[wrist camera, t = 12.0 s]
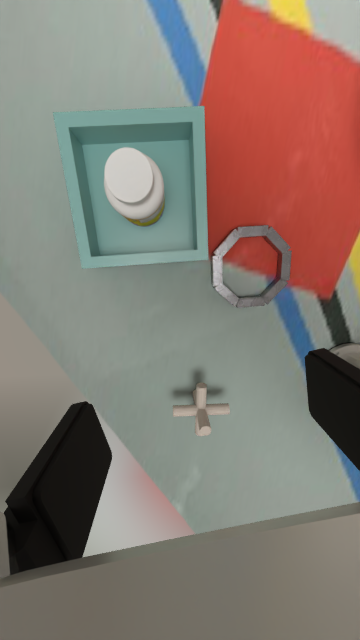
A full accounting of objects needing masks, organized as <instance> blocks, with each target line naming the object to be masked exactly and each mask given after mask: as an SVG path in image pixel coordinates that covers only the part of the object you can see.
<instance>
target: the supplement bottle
mask: <svg viewBox="0 0 360 640" xmlns="http://www.w3.org/2000/svg"><path fill="white" fill-rule="evenodd" d="M104 189H105V193H106V196H107V198H108V200H109V202H110V204H111V205H112V207H113V208H114V209H115V210H116V211H117V212H118V213H120V214H121V215H122V216H123V217H124V218H126V219H127V220H128V221H129V222H131V223H133V224H134V225H137V226H141V227H146V226H150V225H153V224H154V223H156V222H157V221H158V220H159V219H160V217H161V216H162V214H163V211H164V206H165V197H164V182H163V177H162V174H161V172H160V169H159V168H158V166H157V165H156V163H155V162H154V161H153V160H152V159H151V158H150V157H148V156H147V155H145V154H143V153H141V152H140V151H138V150H136V149H134V148H129V147H124V148H120V149H117V150H116V151H114V152H113V153H112V154H111V155H110V156H109V158H108V160H107V162H106V165H105V170H104Z"/></svg>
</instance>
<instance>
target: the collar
mask: <svg viewBox="0 0 360 640" xmlns="http://www.w3.org/2000/svg"><path fill="white" fill-rule="evenodd" d="M258 236H262V237H263V238H264V239H265V240H266V241H267V242H268V243H269V244H270V245H271V246H272V248H273V249H274V250H275V251H276V252H277V253H278V263H277V278H276V279H275V280H274V281H273V282H272V283H271V284H270V285H269V286H268V287H267V288H266V290H265V291H264V292H263V293H262V294H261V295H260V296H249V297H237V296H236V295H235V294H233V293H232V292H231V291H230V290H229V289H228V288H227V287H226V286H225V285H224V284H223V283H222V257H223V256H224V255H225V254H226V253H227V252H228V250H229V249H230V248H231V247H232V246H233V245H234V244H235V243H236V241H237V240H238V239H239V238H243V237H258ZM290 248H291V247H290V246H289V245H288V244H287V243H286V242H285V241H284V240H283V239H282V238H281V237H280V235H279V234H278V233H277V232H276V231H275V230H274V229H273V228H272V227H268V225H264V226H249V227H237V228H235V229H233V230H232V231H231V232H230V233H229V234H228V235H227V237H226V238H225V239H224V240H223V241H222V242H221V243H220V245H219V246H218V247H217V248H216V249H215V250H214V251H213V254H214V255H215V256H211V270H212V285H213V286H214V287H213V288H214V289H215V290H216V291H218V292H219V293H220V294H221V295H222V296H223V297H224V298H225V299H226V300H227V301H229V302H230V303H231V304H232V305H233V306H234V307H235V306H236V307H237V308H240V307H252V306H265V303H266V304H268V303H269V302H270V301H271V300H272V299H273V298H274V297H275V296H276V295H277V294H278V293H279V292H280V291H281V290H282V289H283V288H284V287H285V286H286V285H287V284H288V283H287V282H286V280H289V278H290V265H291V252H292V251H288V250H289V249H290Z"/></svg>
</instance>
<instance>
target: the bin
mask: <svg viewBox="0 0 360 640" xmlns="http://www.w3.org/2000/svg"><path fill="white" fill-rule="evenodd" d="M53 116H54V121H55V127H56V132H57V137H58V143H59V148H60V153H61V159H62V164H63V169H64V175H65V180H66V185H67V191H68V196H69V201H70V207H71V212H72V217H73V223H74V228H75V233H76V239H77V244H78V249H79V255H80V260H81V265H82V269H83V268H97V267H112V266H126V265H141V264H155V263H170V262H184V261H199V260H208V227H207V190H206V152H205V115H204V106H196V107H172V108H148V109H124V110H100V111H76V112H53ZM124 147H129V148H134V149H136V150H138V151H140V152H141V153H143V154H145V155H147V156H148V157H150V158H151V159H152V160H153V161H154V162H155V163H156V165H157V166H158V168H159V169H160V172H161V174H162V177H163V182H164V197H165V206H164V211H163V214H162V216H161V217H160V219H159V220H158V221H157V222H156V223H154V224H153V225H150V226H146V227H141V226H137V225H134V224H133V223H131V222H129V221H128V220H127V219H126V218H124V217H123V216H122V215H121V214H120V213H118V212H117V211H116V210H115V209H114V208H113V207H112V205H111V204H110V202H109V200H108V198H107V196H106V193H105V189H104V170H105V165H106V162H107V160H108V158H109V156H110V155H111V154H112V153H113V152H114V151H116V150H117V149H120V148H124Z"/></svg>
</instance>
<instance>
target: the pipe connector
mask: <svg viewBox="0 0 360 640" xmlns="http://www.w3.org/2000/svg"><path fill="white" fill-rule="evenodd" d="M206 393H207V385H206V384H205V383H198V384H197V385H196V390H194V391H193V398H194V403H195V405H175V406H173V416H196V423H195V433H196V435H198V436H203V435H204V436H206V435H209V434H210V433H211V427H210V423H209V419H208V415H221V414H229V413H230V409H229V404H228V403H227V404H206Z"/></svg>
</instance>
